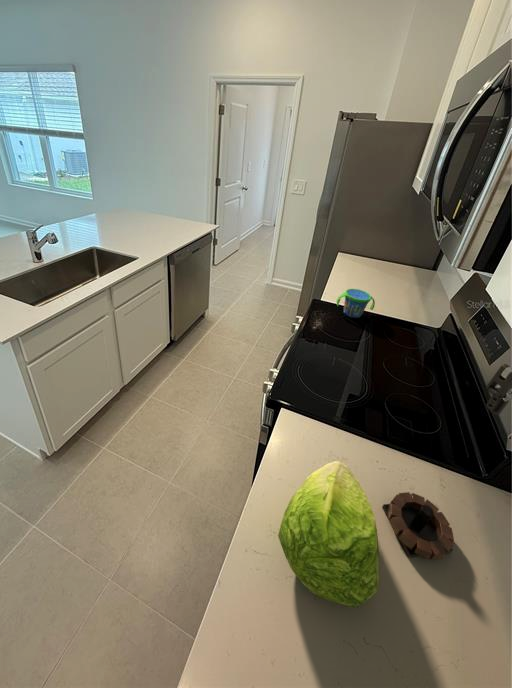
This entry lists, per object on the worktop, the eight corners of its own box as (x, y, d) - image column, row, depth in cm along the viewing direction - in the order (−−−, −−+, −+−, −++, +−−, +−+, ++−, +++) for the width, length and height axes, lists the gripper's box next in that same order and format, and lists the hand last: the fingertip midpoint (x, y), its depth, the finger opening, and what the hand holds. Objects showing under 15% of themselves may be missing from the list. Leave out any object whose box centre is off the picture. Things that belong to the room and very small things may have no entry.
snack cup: (368, 310, 140) (374, 291, 135) (372, 323, 131) (380, 302, 126) (332, 305, 142) (338, 286, 137) (335, 317, 133) (340, 297, 128)
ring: (423, 495, 68) (427, 490, 67) (462, 555, 58) (467, 550, 57) (377, 499, 66) (380, 494, 65) (410, 562, 57) (413, 557, 56)
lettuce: (378, 505, 67) (388, 454, 62) (374, 644, 47) (388, 584, 42) (300, 477, 74) (303, 429, 70) (268, 586, 54) (269, 529, 49)
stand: (419, 503, 67) (432, 484, 64) (450, 552, 60) (467, 534, 56) (381, 507, 66) (392, 488, 62) (408, 557, 58) (422, 539, 55)
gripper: (550, 356, 45) (495, 429, 53) (629, 353, 47) (565, 424, 55) (504, 327, 52) (462, 396, 60) (576, 326, 54) (525, 392, 62)
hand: (511, 409), depth 58 cm, fingers open, 8 cm apart
